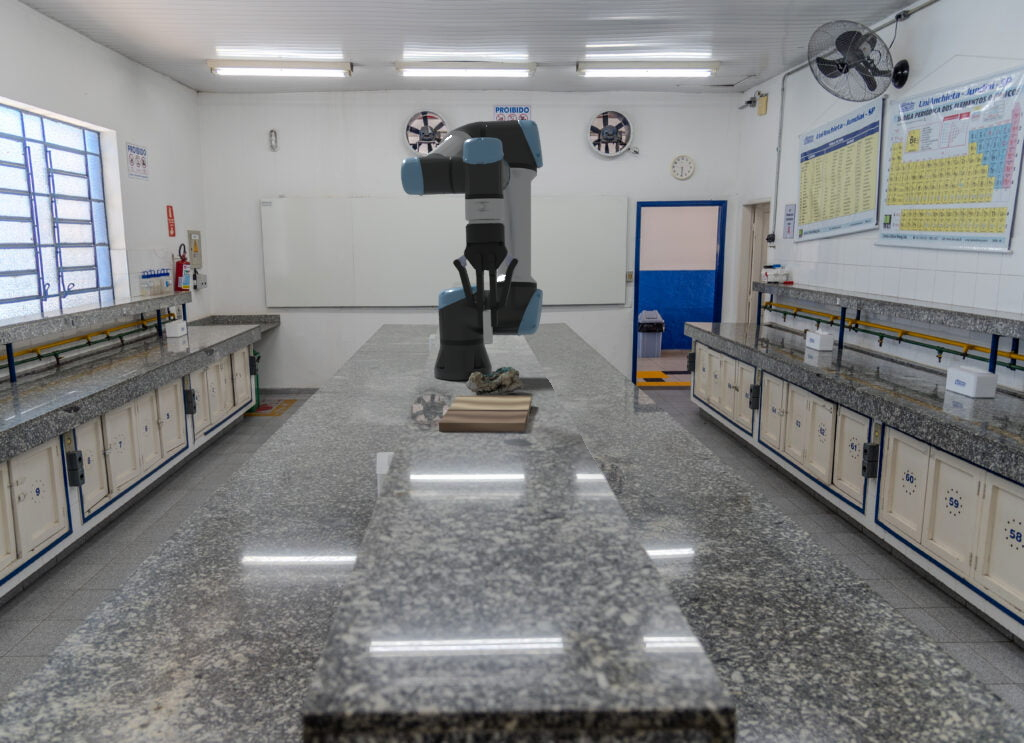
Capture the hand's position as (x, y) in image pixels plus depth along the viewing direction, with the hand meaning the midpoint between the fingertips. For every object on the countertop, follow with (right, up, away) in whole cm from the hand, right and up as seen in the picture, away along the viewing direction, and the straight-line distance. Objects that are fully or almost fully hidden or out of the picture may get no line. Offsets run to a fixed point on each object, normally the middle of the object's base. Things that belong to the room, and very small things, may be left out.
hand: (488, 343), depth 140 cm
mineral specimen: (+1, -11, +20) cm, 23 cm away
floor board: (0, -16, -5) cm, 17 cm away
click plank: (0, -14, +5) cm, 14 cm away
